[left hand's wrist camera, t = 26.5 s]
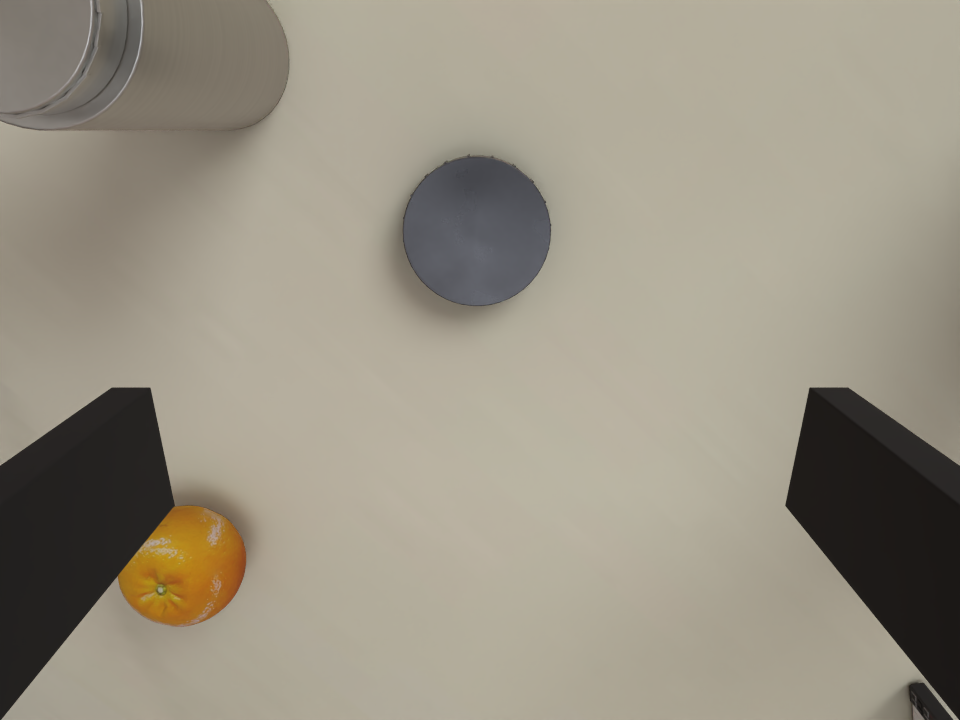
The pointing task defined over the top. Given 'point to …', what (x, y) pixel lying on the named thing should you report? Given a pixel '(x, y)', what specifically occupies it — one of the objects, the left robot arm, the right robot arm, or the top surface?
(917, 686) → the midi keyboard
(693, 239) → the top surface
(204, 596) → the fruit
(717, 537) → the top surface
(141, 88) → the jar
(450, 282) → the lid
